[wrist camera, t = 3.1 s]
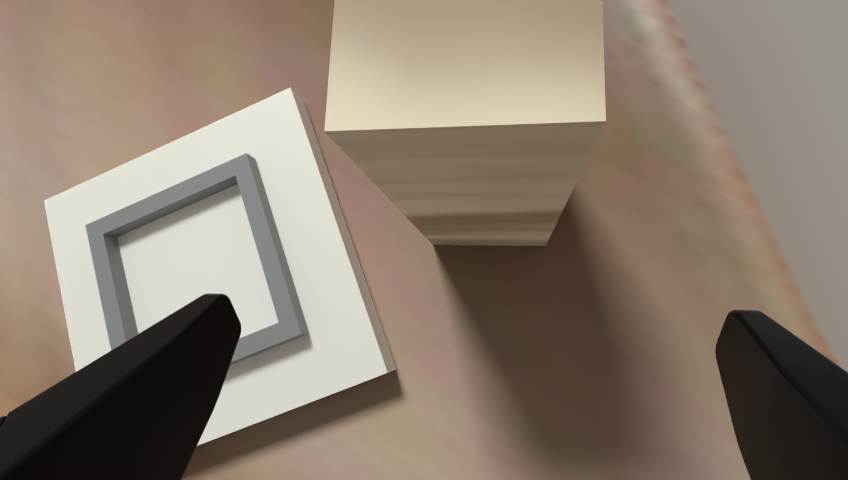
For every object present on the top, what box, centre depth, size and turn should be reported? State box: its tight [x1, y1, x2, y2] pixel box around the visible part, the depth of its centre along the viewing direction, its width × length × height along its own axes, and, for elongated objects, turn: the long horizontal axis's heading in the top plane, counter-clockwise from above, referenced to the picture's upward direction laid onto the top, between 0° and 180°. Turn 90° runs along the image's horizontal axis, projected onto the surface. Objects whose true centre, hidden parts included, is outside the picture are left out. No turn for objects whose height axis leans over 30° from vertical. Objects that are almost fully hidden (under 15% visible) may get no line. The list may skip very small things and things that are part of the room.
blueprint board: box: [44, 87, 396, 446], centre depth 22 cm, size 14×14×2 cm
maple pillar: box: [325, 0, 606, 246], centre depth 15 cm, size 5×5×13 cm
